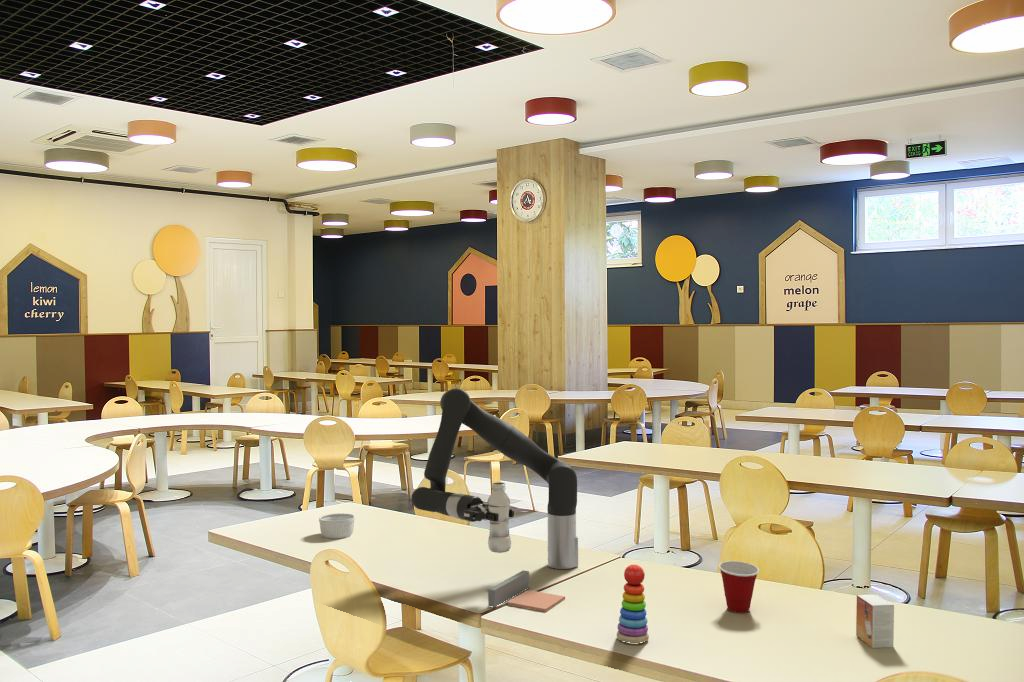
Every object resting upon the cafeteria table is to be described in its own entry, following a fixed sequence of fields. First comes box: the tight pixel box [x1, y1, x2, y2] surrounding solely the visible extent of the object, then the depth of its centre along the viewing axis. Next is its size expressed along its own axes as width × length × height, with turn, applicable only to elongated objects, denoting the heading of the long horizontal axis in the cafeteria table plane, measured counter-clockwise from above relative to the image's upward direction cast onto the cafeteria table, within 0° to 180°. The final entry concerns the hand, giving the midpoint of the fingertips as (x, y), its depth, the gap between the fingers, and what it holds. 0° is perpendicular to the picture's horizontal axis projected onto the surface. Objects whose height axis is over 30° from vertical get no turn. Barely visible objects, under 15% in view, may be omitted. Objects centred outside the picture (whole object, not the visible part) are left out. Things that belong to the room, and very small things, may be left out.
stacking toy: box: [616, 564, 650, 643], centre depth 209 cm, size 8×8×19 cm
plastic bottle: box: [486, 481, 512, 554], centre depth 243 cm, size 6×7×20 cm
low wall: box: [487, 569, 530, 608], centre depth 242 cm, size 20×2×5 cm, turn 150°
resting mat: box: [507, 589, 566, 613], centre depth 238 cm, size 12×12×1 cm
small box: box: [855, 594, 895, 649], centre depth 207 cm, size 8×6×10 cm
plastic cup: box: [718, 560, 760, 614], centre depth 230 cm, size 11×11×12 cm
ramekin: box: [318, 512, 356, 540], centre depth 314 cm, size 13×13×7 cm
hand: (505, 515), depth 242 cm, fingers closed on plastic bottle, 6 cm apart
